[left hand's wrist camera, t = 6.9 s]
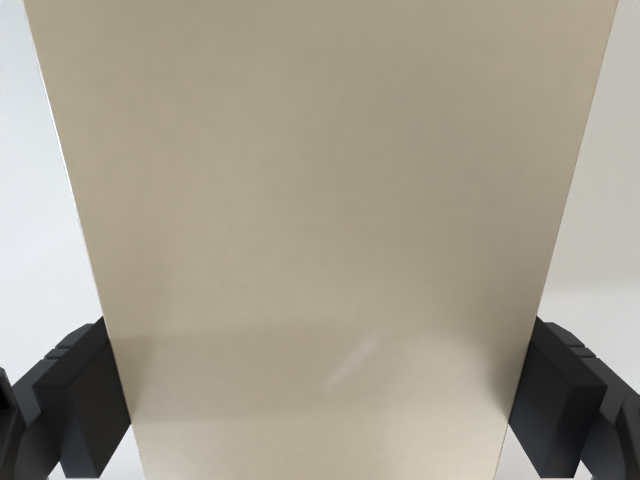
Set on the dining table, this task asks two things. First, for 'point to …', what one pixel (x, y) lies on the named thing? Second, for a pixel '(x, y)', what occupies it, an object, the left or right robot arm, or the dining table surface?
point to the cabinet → (319, 218)
